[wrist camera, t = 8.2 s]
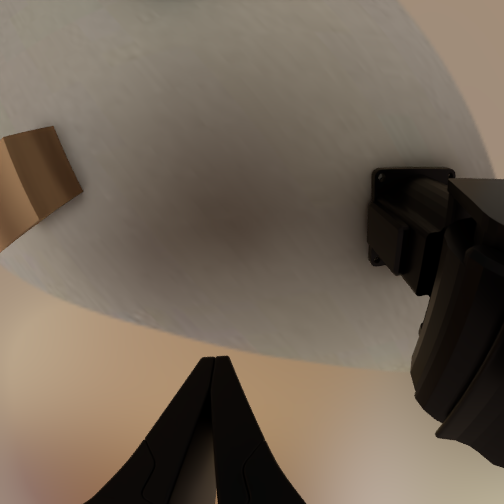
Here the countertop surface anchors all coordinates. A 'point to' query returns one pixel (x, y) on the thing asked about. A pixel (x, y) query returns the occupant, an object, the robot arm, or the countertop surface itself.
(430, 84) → the countertop surface
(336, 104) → the countertop surface
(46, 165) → the walnut cube
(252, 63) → the countertop surface
